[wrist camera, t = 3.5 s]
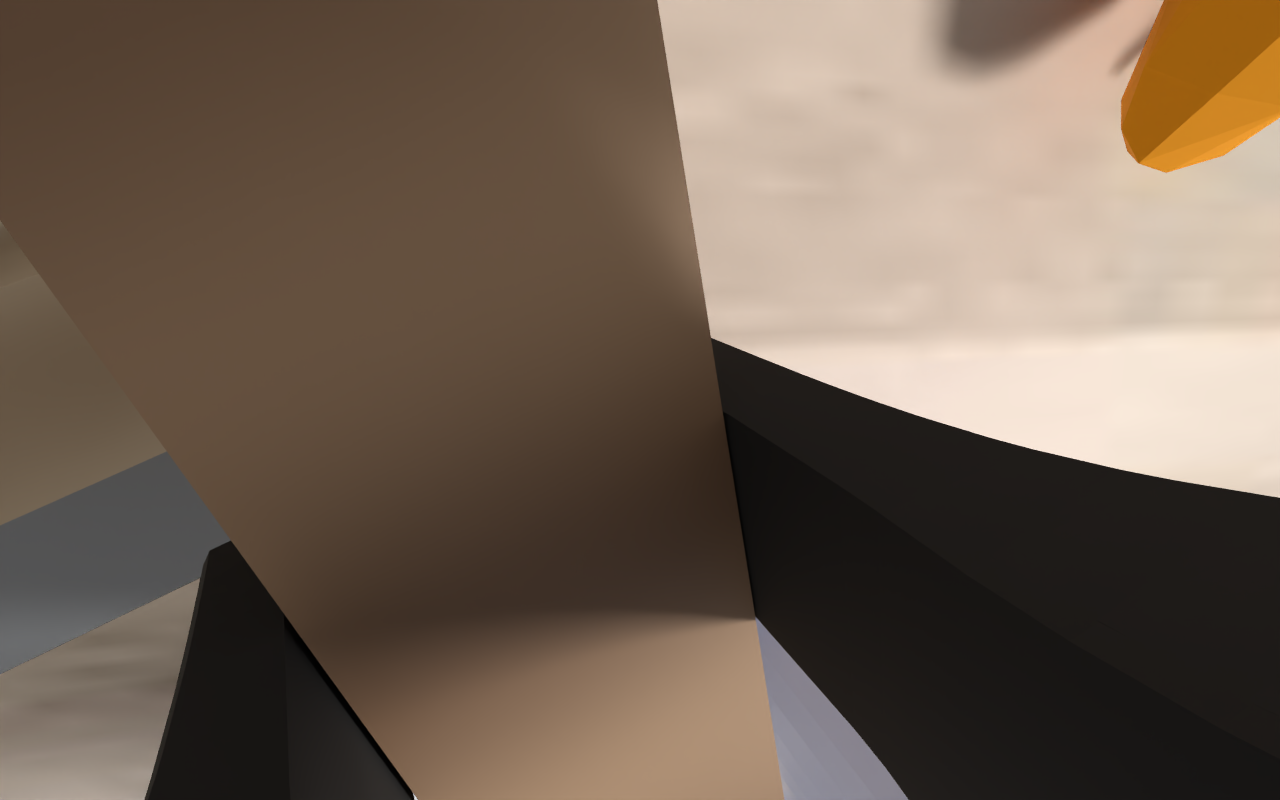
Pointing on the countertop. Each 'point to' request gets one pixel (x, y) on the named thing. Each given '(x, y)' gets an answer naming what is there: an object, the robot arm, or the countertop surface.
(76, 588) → the board
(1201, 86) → the corn
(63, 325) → the ridge
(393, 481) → the brown wooden block
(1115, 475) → the robot arm
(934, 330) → the countertop surface
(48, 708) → the countertop surface
